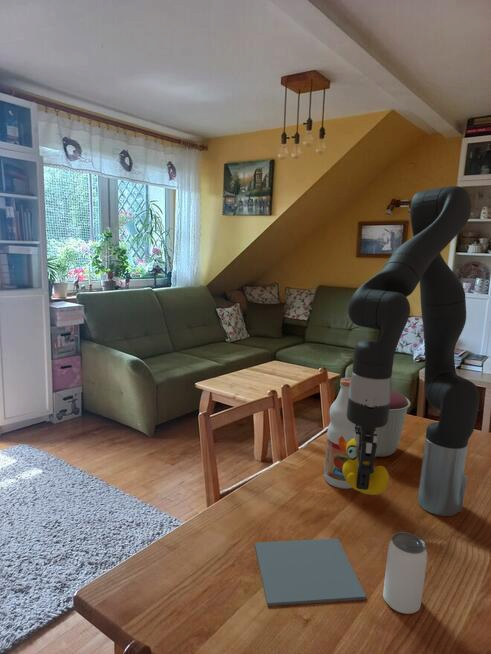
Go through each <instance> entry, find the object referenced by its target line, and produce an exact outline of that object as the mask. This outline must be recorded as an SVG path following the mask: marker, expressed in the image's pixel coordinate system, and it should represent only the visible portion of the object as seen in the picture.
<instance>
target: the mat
mask: <svg viewBox="0 0 491 654" xmlns="http://www.w3.org/2000/svg"><path fill="white" fill-rule="evenodd" d="M254 549H255V554H256V559H257V563H258V568H259V573H260V577H261V578H260V579H261V581H262V588H263V591H264V592H263V593H264V597H265V601H266V605H267V607H274V606H275V607H277V606H287V605H290V606H291V605H305V604H315V603H332V602H346V601H359V600H360V601H361V600H367V595H366V593H365V591H364V589H363V587H362V585H361V583H360V581H359V578H358V576H357V575H356V572H355V571H354V568H353V566H352V564H351V562H350V560H349V558H348V556H347V554H346V552H345V550H344V548H343V546H342V544H341V542H340V539H339V538H318V539H301V540H300V539H298V540H297V539H296V540H279V541H262V542H261V541H260V542H259V541H258V542H254Z"/></svg>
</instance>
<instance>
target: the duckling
mask: <svg viewBox="0 0 491 654" xmlns="http://www.w3.org/2000/svg"><path fill="white" fill-rule="evenodd" d="M338 443H339V447H340V449H341V450H342V451H343V452H344V453H346V455H347V458H348V461H346V462H345V463H344V465H343V469H342V472H343V475H344V477H345V479H346V481H347V483H348V484H349V485H350V486H351V487H352V488H351V489H354V490H355V491H358V492H360V493H362V494H365V495H371V496H372V495H373V496H375V495H380V494H382V493H383V492H385V490H386V489H387V487H388V485H389V478H390V476H389V475H390V474H389V473H388V470H387V468H386V467H385V466H383V465H377V466H376V467H374V472H373V474H370V479H369V487H368V489H367V490H364V489H358V488H357V487H356V480H357V470H358V469H357V465H358V458H357V457H356V455H355V450H356V441H355V438H353V439H351V440H350V441H349V442H347V441H345V439H344V438H343V436H340V437H339V439H338ZM359 451H360V452H361V450H359ZM375 456H376V453H375ZM363 464H366V465H369V462H366V461H364V462H363Z"/></svg>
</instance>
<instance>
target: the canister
mask: <svg viewBox="0 0 491 654" xmlns="http://www.w3.org/2000/svg"><path fill="white" fill-rule="evenodd" d="M410 406H411V401H410V400H409V399H408V398H407V397H406V396H404V395H403V394H401V393H400V392H398V391H396V390H393V389H391V397H390V406H389V414H388V422H387V424H386V425H385V426H383V427H378V428H375V429H376V432H375V434H377V442H376V445H377V448H376V456H375V458H376V457H378V458H379V457H381V458H383V457H388V456H391V455H393V454H394V453H395V452H396V451H397V449H398V447H399V444H400V440H401V437H402V432H403V429H404V424H405V420H406V416H407V412H408V409H409V408H410Z"/></svg>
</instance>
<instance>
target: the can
mask: <svg viewBox="0 0 491 654" xmlns="http://www.w3.org/2000/svg"><path fill="white" fill-rule="evenodd" d="M427 562H428V553H427V546H426V543H425V541H424V540H423V539H422V538H421V537H419V536H418V535H416V534H414V533H411V532H408V531H407V532H405V531H400V532H399V531H398V532H396V533H394V534H393V535H392V536H391V540H390V542H389V543H388V548H387V555H386V563H385V564H386V566H385V573H384V583H383V592H382V594H383V600H384V601H385V603H386V604H387V605H388V606H389V607H390V608H391V609H392V610H393V611H395V612H397V613H400V614H404V615H412V614H415V613H418V612H419V610H420V609H421V605H422V600H423V593H424V586H425V585H424V584H425V578H426V571H427V570H426V569H427V564H428V563H427Z"/></svg>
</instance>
